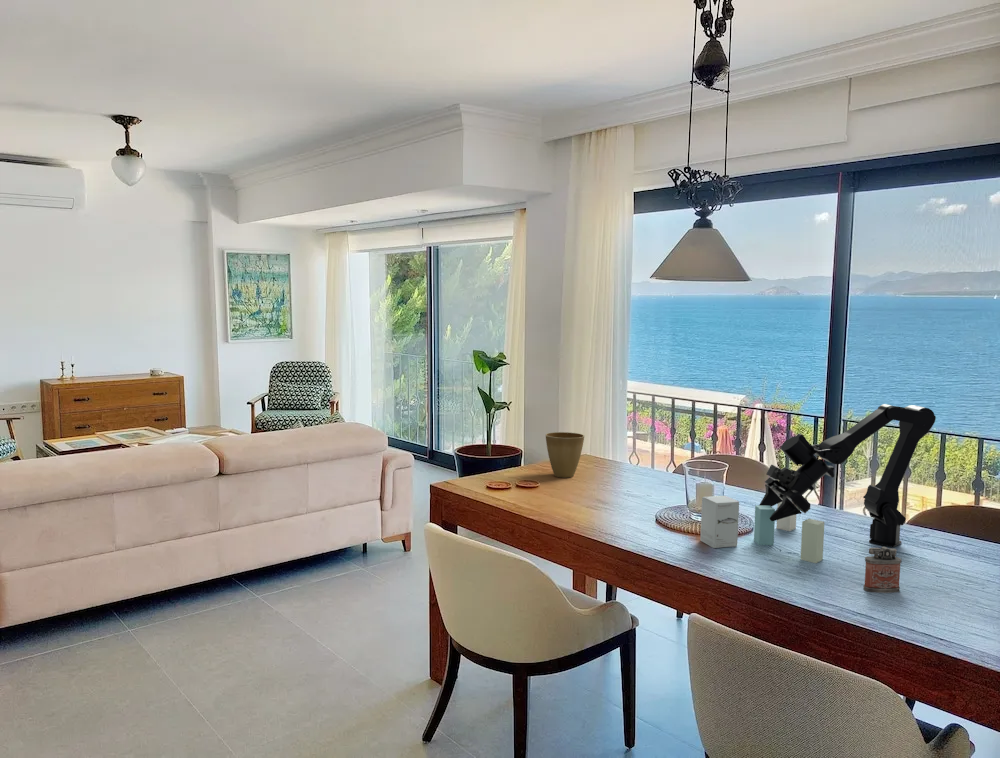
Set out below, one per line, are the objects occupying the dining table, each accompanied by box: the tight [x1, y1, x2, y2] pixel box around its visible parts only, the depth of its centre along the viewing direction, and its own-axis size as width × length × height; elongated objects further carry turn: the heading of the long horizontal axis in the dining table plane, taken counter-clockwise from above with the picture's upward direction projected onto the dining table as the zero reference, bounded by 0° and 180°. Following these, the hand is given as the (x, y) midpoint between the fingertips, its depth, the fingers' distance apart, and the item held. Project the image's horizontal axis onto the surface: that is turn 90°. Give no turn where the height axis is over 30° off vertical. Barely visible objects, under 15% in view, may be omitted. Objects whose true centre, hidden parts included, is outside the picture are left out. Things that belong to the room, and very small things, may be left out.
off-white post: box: [776, 498, 797, 532], centre depth 217 cm, size 4×4×10 cm
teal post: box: [753, 504, 776, 546], centre depth 203 cm, size 4×4×10 cm
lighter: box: [863, 546, 902, 594], centre depth 169 cm, size 8×3×10 cm, turn 92°
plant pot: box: [545, 431, 585, 479], centre depth 284 cm, size 15×15×16 cm
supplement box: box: [699, 495, 740, 549], centre depth 202 cm, size 7×7×13 cm
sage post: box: [800, 518, 825, 564], centre depth 190 cm, size 4×4×10 cm
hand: (764, 515), depth 203 cm, fingers open, 9 cm apart
